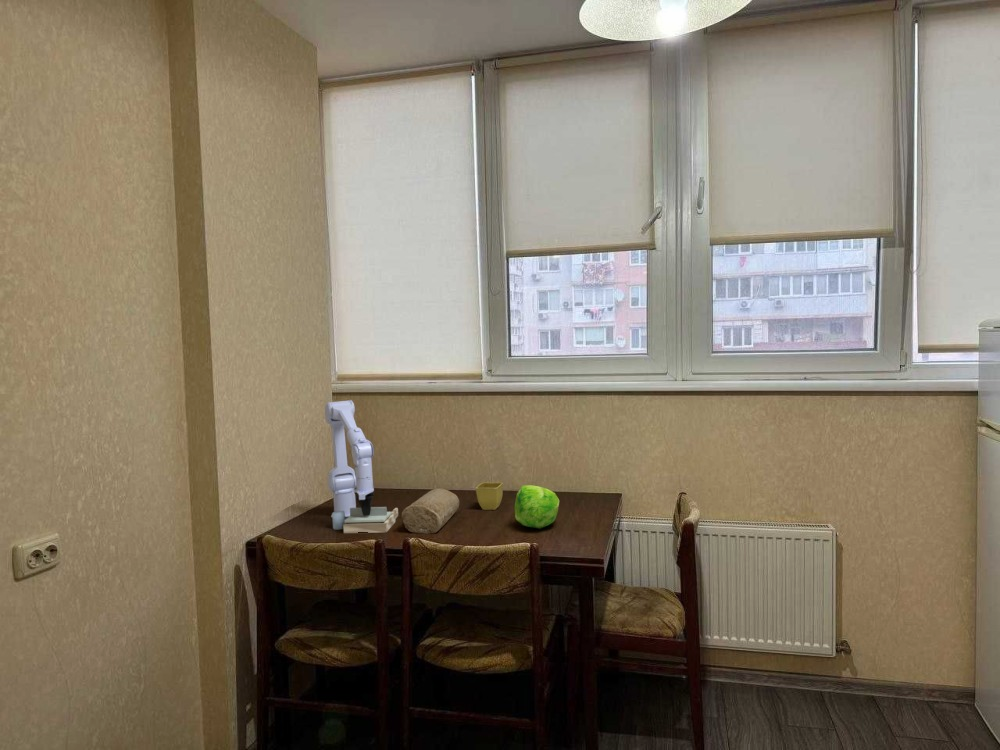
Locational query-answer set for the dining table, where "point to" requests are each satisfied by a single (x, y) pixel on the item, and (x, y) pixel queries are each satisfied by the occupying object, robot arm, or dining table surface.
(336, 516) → the pale blue cylinder
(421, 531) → the core sample
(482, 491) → the flower pot
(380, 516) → the lid
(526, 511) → the lettuce
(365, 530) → the frame
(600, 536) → the dining table surface
